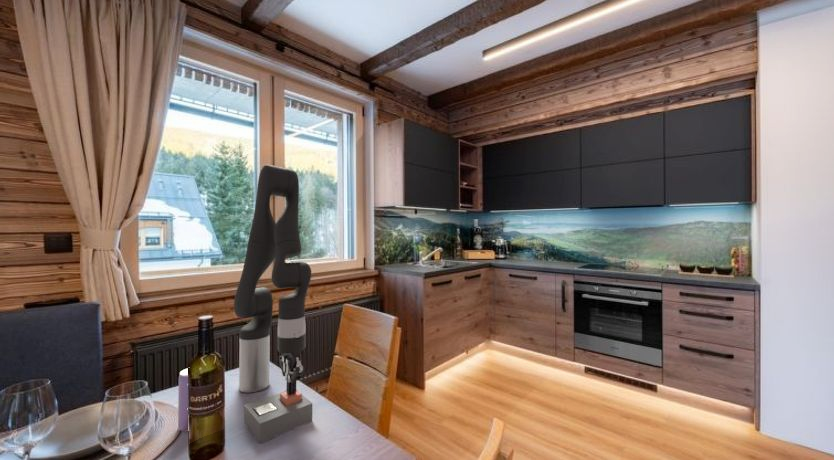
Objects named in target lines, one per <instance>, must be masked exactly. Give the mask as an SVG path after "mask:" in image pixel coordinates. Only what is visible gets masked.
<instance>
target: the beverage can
mask: <svg viewBox="0 0 834 460" xmlns="http://www.w3.org/2000/svg"><path fill="white" fill-rule="evenodd" d="M188 368H189V367H188ZM188 368H185V369H183V370H181V371H180V372H179V376H178V399H177V400H178V402H177V403H178V404H177V405H178V406H177V407H178V410H177V411H178V412H177V414H178V416H177V417H178V419H177V420H178V421H177V423H178V425H177V426H178V427H177V428H178V430H179V431H180V430H181V432H185V433H186V432H189V431H188V410H187V408H188V386H187V383H188Z"/></svg>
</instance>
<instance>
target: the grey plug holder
mask: <svg viewBox="0 0 834 460" xmlns="http://www.w3.org/2000/svg"><path fill="white" fill-rule="evenodd" d="M286 391H287V390H284V391H281V392H279V393H277V394H273V395H270V396H267V397H263V398H261V399H258V400H255V401H252V402H250V403H247V404H244V405H243V406H244V407H243V424H244V425H245V426H246V428H247V429H248V431H249V432H250V433H251V434H252V436H253V438H255V440H256V441H257V442H258V443H259V444H263V443H265V442H267V441H270V440H272V439H274V438H278V436H281V435H284V434H286V433H288V432H290V431H293V430H295V429H297V428H300V427H302V426H305V425H306V424H308V423H311V422H313V402H312V401H310V400H309V399H308V398H307V397H305V396H304V395H303V394H302V400H301V401H299V402H296V403H293V404H291V405H288V406H285V405H284V404H283V403H282V402H281V401H280V393H283V392H286ZM268 403H272V404H273V405H274V406H275V407H276V408H277V410H275V411H272V412H269V413H267V414H264V415H261V416H258V415H257V413H256V412H255V411H254V408H257V407H260V406H262V405H265V404H268Z"/></svg>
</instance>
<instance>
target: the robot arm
mask: <svg viewBox="0 0 834 460" xmlns="http://www.w3.org/2000/svg"><path fill="white" fill-rule="evenodd" d="M258 175H259V176H258V181H257V186H256V187H257V188H256V198H255V206H254V207H255V208H254V214H253V218H252V223H251V228H250V231H249V235H248V241H247V246H246V253H245V259H244V263H243V267H242V272H241V276H240V279H239V282H238V286H237V288H236V291H235V295H234V299H233V310H234V314H235V316H236V317H237V318H239V319H248V318H252V319H251V320H250V321H249V322H248V323H247V324H245V325H243V326H242V327H241V328H239V356H238V357H239V358H238V359H239V360H238V364H239V365H238V366H239V367H238V368H239V369H238V371H239V375H238V376H239V377H238V390H239V391H240V392H242V393H255V392H260V391H262V390H265V389H266V388H267V387H269V385H270V363H271V361H270V360H271V358H270V356H271V355H270V352H271V351H270V349H271V348H270V346H271V345H270V342H271V340H270V339H271V338H270V336H271V335H270V333H271V332H270V331H271V328H272V325H273V307H274V306H273V305H274V302H273V301H274V298H273V294H272V292H271V290H270V289H269V288H268V287H265V286H264V287H257V285H258V282H259V280H260V279H261V277H262V275H264V273H265V272H266V271H267V269H268V268H269V267H270V266H271V264H272V263H274V264H273V268H272V272H271V282H272V285H274V287H276V288H277V289H289V288H295V290H294V291H293V292H292V293H290V294H287V295H284V296H281V297H280V298H279V299H278V307H277V308H278V309H277V311H278V316H277V317H278V320H277V328H276V329H277V332H276V333H277V334H276V335H277V338H276V339H277V342H276V343H277V345H276V346H277V347H276V350H277V351H278V353H280V354H282V355H279V356H278V362H279V365H280V369H281V370H280V371H281V374H282V376H283V377H284V380H285V381H286V391H287V394H289V395H292V394H295V393H296V389H297V381H301V379H302V377H303V376H304V373H305V371H306V365H305V364H303V365H302V355H301V352H302V351H303V350H304V349H305V348H306V342H307V341H306V338H307V337H306V335H307V334H306V331H307V330H306V329H307V328H306V327H307V326H306V325H307V324H306V315H305V314H306V311H305V310H306V309H305V305H306V297H307V292H308V291H309V290H308V289H309V287H310V282H311V279H312V268H311V266H310V265H309V263H307V262H304V261H298V262H297V261H296V262H286V260H287V259H292V258H294V257H295V258H296V257H298V256H299V255H300V254H301V253H302V244H301V237H300V230H299V205H300V203H299V202H300V197H299V195H300V187H299V186H300V181H299V176H298V174H297V172H296V171H295V170H293V169H290V168H286V167H281V166H276V165H271V164H265V165H263V166H262V168H261V170H260V172H259V174H258ZM271 196H274V197H275V196H276V197H281V198H282V197H283V198H285V206H284V209H283V211H282V213H281V215H280V216H279V217H278V219H277V221H275V219H274V216H273V214H272V210H271Z"/></svg>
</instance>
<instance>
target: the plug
mask: <svg viewBox="0 0 834 460" xmlns="http://www.w3.org/2000/svg"><path fill="white" fill-rule="evenodd" d="M275 410H277V408H276V407H275V406H274V405H273V404H272V403H268V404H265V405H262V406H260V407H257V408H254V411H255V412H256V413H257V415H258V416H261V415H264V414H267V413H269V412H272V411H275Z"/></svg>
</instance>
